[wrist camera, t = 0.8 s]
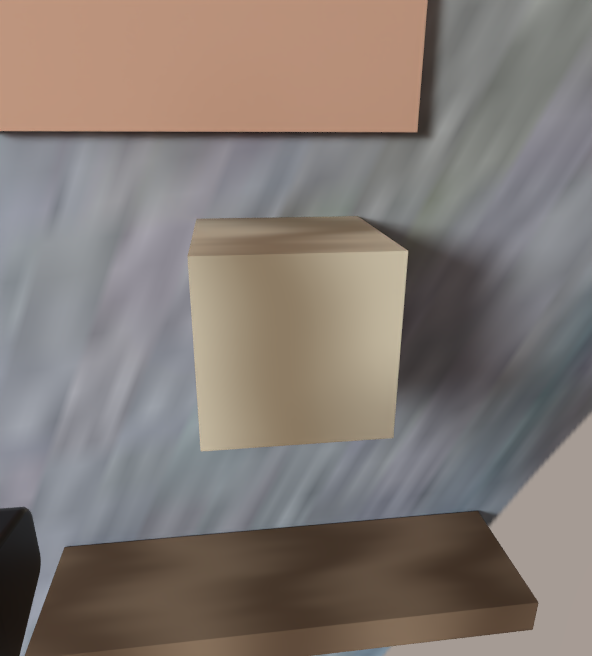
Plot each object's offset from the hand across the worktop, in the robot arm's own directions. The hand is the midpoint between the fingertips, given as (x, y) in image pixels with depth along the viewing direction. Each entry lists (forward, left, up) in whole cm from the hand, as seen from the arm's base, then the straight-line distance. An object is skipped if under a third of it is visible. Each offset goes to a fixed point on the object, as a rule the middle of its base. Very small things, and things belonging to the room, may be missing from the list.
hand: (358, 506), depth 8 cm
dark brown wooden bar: (0, +12, -10) cm, 16 cm away
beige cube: (0, 0, -11) cm, 11 cm away
